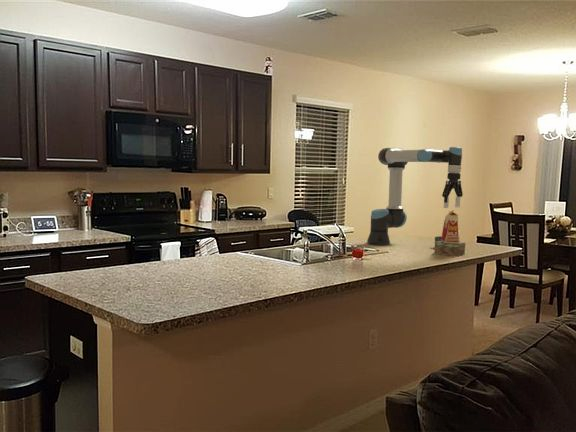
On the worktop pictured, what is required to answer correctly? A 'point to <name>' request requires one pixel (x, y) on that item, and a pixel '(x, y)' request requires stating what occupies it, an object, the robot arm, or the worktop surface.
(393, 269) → the worktop surface
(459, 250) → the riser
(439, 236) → the mortar and pestle
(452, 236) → the milk carton
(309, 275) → the worktop surface
